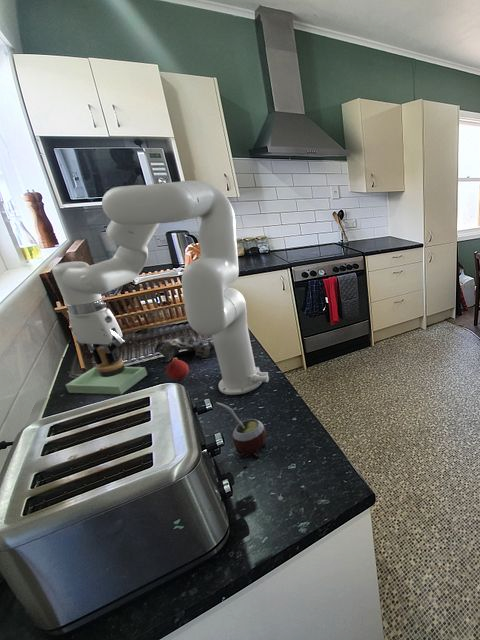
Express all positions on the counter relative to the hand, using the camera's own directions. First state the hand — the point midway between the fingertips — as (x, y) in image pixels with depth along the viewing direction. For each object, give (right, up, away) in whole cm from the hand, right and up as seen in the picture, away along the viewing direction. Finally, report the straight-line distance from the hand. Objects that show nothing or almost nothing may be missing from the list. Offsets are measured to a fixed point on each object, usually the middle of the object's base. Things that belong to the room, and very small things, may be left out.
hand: (108, 361), depth 104 cm
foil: (+12, 0, +20) cm, 23 cm away
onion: (+17, -7, +6) cm, 20 cm away
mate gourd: (+53, -20, -20) cm, 60 cm away
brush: (0, -3, +1) cm, 3 cm away
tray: (-3, -7, +3) cm, 8 cm away
